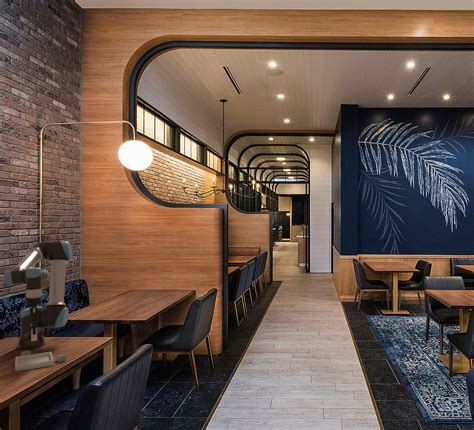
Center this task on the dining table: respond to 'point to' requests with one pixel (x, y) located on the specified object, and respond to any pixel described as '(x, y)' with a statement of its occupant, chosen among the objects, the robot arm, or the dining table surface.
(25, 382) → the dining table surface
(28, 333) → the rock
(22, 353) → the matte grey cube
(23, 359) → the dish
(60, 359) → the squat grey cube
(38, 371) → the dining table surface
